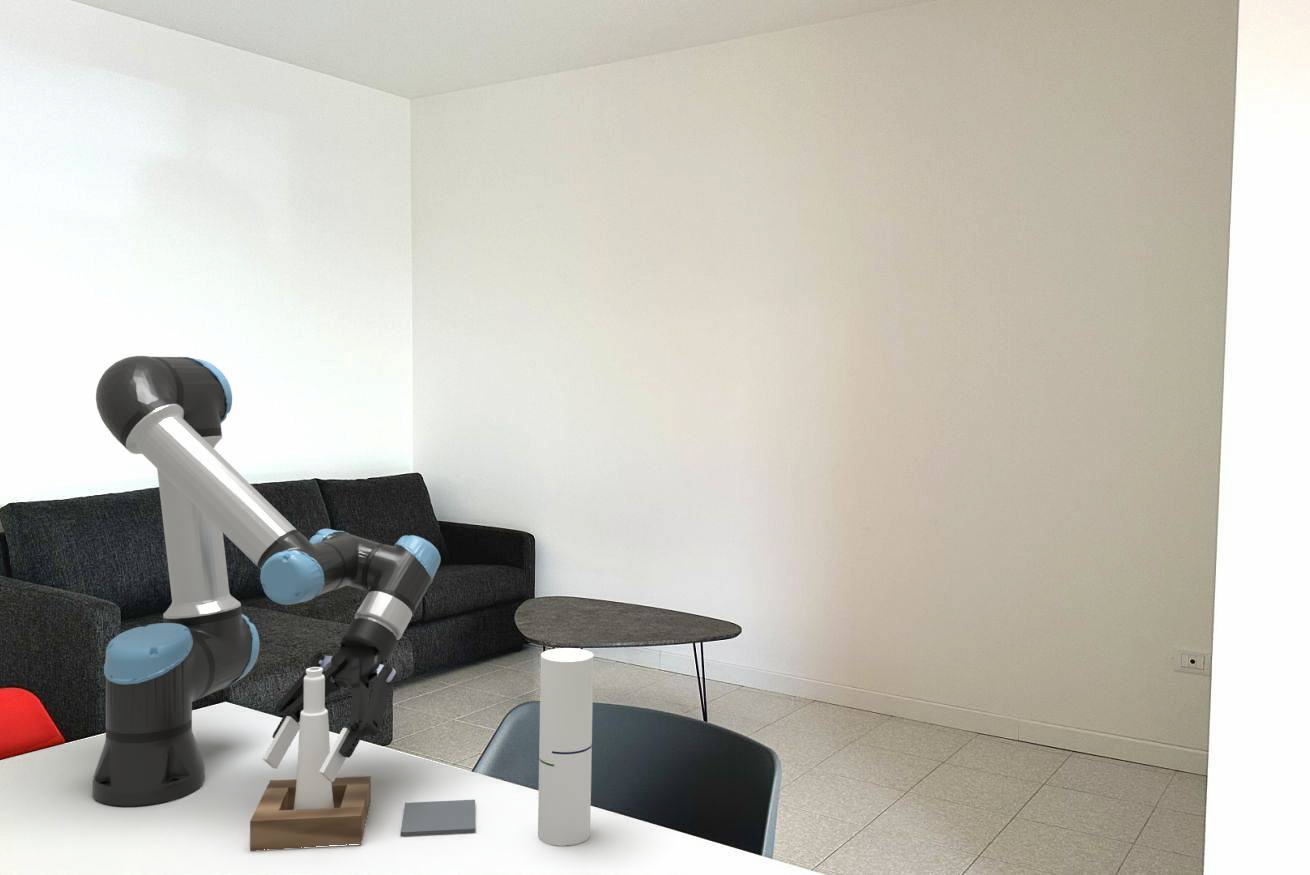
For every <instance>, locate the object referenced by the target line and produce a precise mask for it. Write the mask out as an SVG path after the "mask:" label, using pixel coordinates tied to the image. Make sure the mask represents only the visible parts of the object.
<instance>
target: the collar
mask: <svg viewBox="0 0 1310 875" xmlns="http://www.w3.org/2000/svg"><path fill="white" fill-rule="evenodd" d="M296 782H297V778H296V779H295V778H294V779H271V780H269V782H268V784H267V785H266V788H265V790H264V792H263V793H262V796H261V799H260V800H259V802H258V804H257V806H256V808H255V810H254V813H253V814H252V816H251V818H250V820H249V851H250V852H253V851H254V852H256V850H260V851H268V850H267V849H279V850H285V849H284V848H298V849H305V848H304V847H316V846H329V845H346V844H347V845H349V844H361V845H362V842H363V838H364V834H363V833H365V830H364V829H366V825H367V821H368V817H367V816H369V812H368V811H370V808H371V807H370V806H371V804H370V803H371V802H372V801H371V798H372V796H371V795H372V776H371V775H367V776H366V775H365V776H364V775H363V776H342V777H341V776H339V777H336V778H335V780H334V782H331V783H332V794H333V803H334V808H323V809H301V810H294V803H295V794H296ZM369 807H370V808H369ZM366 820H367V821H366ZM365 824H366V825H365ZM362 837H363V838H362ZM361 841H362V842H361ZM301 847H302V848H301ZM264 849H265V850H264Z"/></svg>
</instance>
